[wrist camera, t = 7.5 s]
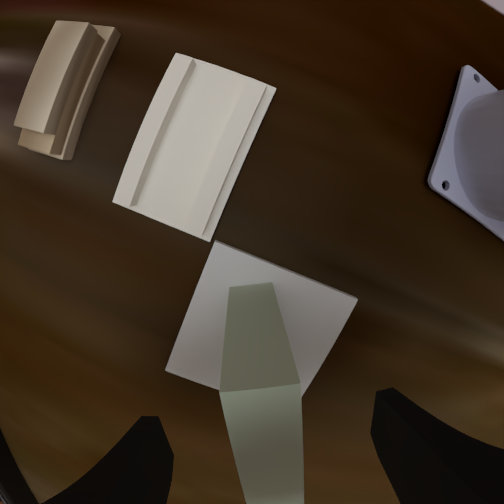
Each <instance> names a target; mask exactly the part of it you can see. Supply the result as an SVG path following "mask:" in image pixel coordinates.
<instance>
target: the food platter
mask: <svg viewBox="0 0 504 504" xmlns="http://www.w3.org/2000/svg"><path fill="white" fill-rule="evenodd" d="M0 504H39V503H38V502H37V500H36V499H35V497H34V495H33V493H32V492H31V490H30V488H29V487H28V485H27V483H26V481H25V479H24V478H23V476H22V474H21V472H20V470H19V468H18V466H17V464H16V462H15V460H14V458H13V456H12V454H11V452H10V450H9V448H8V445H7V443H6V441H5V439H4V436H3V434H2V432H1V429H0Z"/></svg>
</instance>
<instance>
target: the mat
mask: <svg viewBox="0 0 504 504" xmlns="http://www.w3.org/2000/svg"><path fill="white" fill-rule="evenodd" d="M268 282H272V284H273V287H274V291H275V294H276V298H277V301H278V305H279V308H280V312H281V315H282V319H283V322H284V326H285V329H286V333H287V337H288V340H289V344H290V347H291V351H292V354H293V358H294V361H295V365H296V369H297V372H298V376H299V379H300V383H301V397H302V396H303V394H304V393H305V391H306V389H307V388H308V386H309V385H310V383H311V381H312V380H313V378H314V377H315V375H316V373H317V372H318V370H319V368H320V367H321V365H322V363H323V362H324V360H325V358H326V357H327V355H328V353H329V351H330V350H331V348H332V346H333V345H334V343H335V341H336V339H337V338H338V336H339V334H340V332H341V330H342V329H343V327H344V325H345V323H346V321H347V320H348V318H349V316H350V314H351V312H352V310H353V308H354V306H355V305H356V303H357V301H358V299H357V298H356V297H355V296H352V295H350V294H348V293H345V292H343V291H340V290H338V289H335V288H333V287H330V286H328V285H325V284H323V283H320V282H318V281H316V280H313V279H311V278H308V277H306V276H303V275H301V274H298V273H296V272H294V271H291V270H289V269H286V268H284V267H281V266H279V265H276V264H274V263H271V262H269V261H267V260H264V259H262V258H259V257H257V256H254V255H252V254H249V253H247V252H245V251H242V250H240V249H237V248H235V247H232V246H230V245H227V244H225V243H223V242H220V241H218V240H215V242H214V245H213V247H212V250H211V252H210V255H209V257H208V260H207V262H206V265H205V267H204V270H203V272H202V275H201V277H200V280H199V282H198V285H197V287H196V290H195V292H194V295H193V298H192V300H191V303H190V305H189V308H188V310H187V313H186V316H185V318H184V321H183V324H182V326H181V329H180V331H179V334H178V337H177V339H176V342H175V345H174V347H173V350H172V353H171V356H170V358H169V361H168V364H167V366H166V369H165V371H168V372H170V373H173V374H175V375H178V376H181V377H183V378H186V379H189V380H192V381H194V382H197V383H200V384H203V385H206V386H209V387H211V388H214V389H217V390H219V389H220V378H221V367H222V357H223V346H224V336H225V326H226V316H227V306H228V296H229V287H234V286H243V285H251V284H260V283H268Z"/></svg>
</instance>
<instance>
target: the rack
mask: <svg viewBox="0 0 504 504" xmlns="http://www.w3.org/2000/svg"><path fill="white" fill-rule="evenodd" d="M276 89H277V88H274V87H272V86H269V85H267V84H265V83H263V82H260V81H258V80H255V79H252V78H249V77H247V76H244V75H241V74H239V73H236V72H233V71H230V70H228V69H225V68H222V67H219V66H216V65H213V64H210V63H207V62H204V61H201V60H198V59H195V58H192V57H189V56H185V55H182V54H178V53H176V54H175V56H174V57H173V59H172V61H171V63H170V65H169V67H168V69H167V71H166V73H165V75H164V77H163V79H162V81H161V83H160V85H159V87H158V89H157V92H156V94H155V96H154V98H153V100H152V102H151V104H150V107H149V109H148V111H147V113H146V116H145V118H144V120H143V123H142V125H141V127H140V130H139V132H138V134H137V137H136V139H135V142H134V144H133V147H132V149H131V152H130V154H129V157H128V160H127V162H126V165H125V168H124V170H123V173H122V176H121V179H120V181H119V184H118V187H117V190H116V193H115V196H114V199H113V202H114V203H116V204H119V205H121V206H123V207H126V208H128V209H131V210H133V211H136V212H138V213H140V214H143V215H145V216H148V217H150V218H152V219H155V220H157V221H160V222H162V223H165V224H167V225H169V226H172V227H174V228H177V229H179V230H182V231H184V232H186V233H189V234H191V235H194V236H196V237H199V238H201V239H204V240H206V241H208V242H210V241H211V238H212V236H213V233H214V231H215V229H216V226H217V224H218V221H219V219H220V216H221V214H222V212H223V209H224V207H225V204H226V202H227V200H228V197H229V195H230V192H231V190H232V188H233V185H234V183H235V181H236V178H237V176H238V174H239V171H240V169H241V167H242V164H243V162H244V160H245V158H246V155H247V153H248V151H249V148H250V146H251V144H252V142H253V139H254V137H255V135H256V133H257V130H258V128H259V126H260V124H261V122H262V119H263V117H264V115H265V113H266V111H267V108H268V106H269V104H270V102H271V100H272V98H273V95H274V93H275V91H276Z"/></svg>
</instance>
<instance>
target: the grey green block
mask: <svg viewBox="0 0 504 504" xmlns="http://www.w3.org/2000/svg"><path fill="white" fill-rule="evenodd" d="M219 394H220V398H221V403H222V407H223V412H224V416H225V421H226V425H227V429H228V433H229V438H230V442H231V446H232V450H233V454H234V458H235V462H236V466H237V470H238V474H239V477H240V481H241V485H242V489H243V492H244V496H245V500H246V503H247V504H304V466H303V429H302V403H301V383H300V379H299V376H298V372H297V369H296V365H295V361H294V358H293V354H292V351H291V347H290V344H289V340H288V337H287V333H286V329H285V326H284V322H283V319H282V315H281V312H280V308H279V305H278V301H277V298H276V294H275V291H274V287H273V284H272V282H268V283H260V284H251V285H243V286H234V287H229V296H228V306H227V316H226V326H225V336H224V346H223V357H222V367H221V378H220V389H219Z"/></svg>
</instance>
